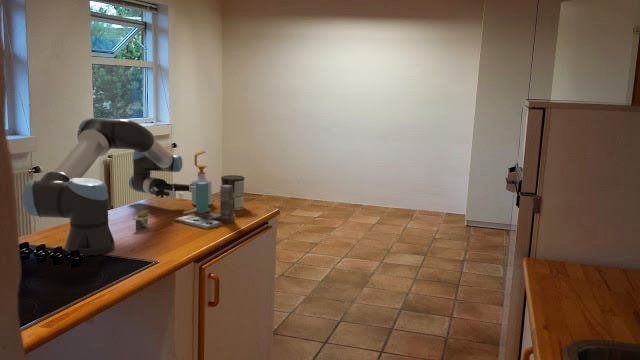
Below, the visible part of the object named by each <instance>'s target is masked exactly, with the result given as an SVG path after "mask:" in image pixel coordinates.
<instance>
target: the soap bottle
mask: <svg viewBox="0 0 640 360" xmlns="http://www.w3.org/2000/svg"><path fill="white" fill-rule="evenodd" d="M202 154H206V151H205V150H202V151H199V152H196V153H195V154H194V166H195V167H196V168H198V170H199V171H198V172H197V177H196V178H194V179H193V180H192V182H191V184H192V185H194V186H195V187H196V183H199V182H205V183H208V206H210V205H212V203H213V202H212V192H213V191H212V189H213V188H212V187H213V185H212V181H211V180H210V179H209V178H207V177H206V171H204V170H205V169H206V168H208V166H207V165H205V164H203V165H200V164H198V160H197V159H198V156H200V155H202ZM191 205H193V206H196V193H192V192H191Z"/></svg>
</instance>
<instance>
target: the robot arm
mask: <svg viewBox="0 0 640 360" xmlns="http://www.w3.org/2000/svg"><path fill="white" fill-rule="evenodd" d="M76 136H77V140H78V141H77V142H78V143H77V144H76V145H75V146H74V147H73V148H72V150H71V151H70V152H69V153H68V154H67V156H65V158H64V159H63V160H62V161H61V163H60V164H58V166H57V167H56V168H55V170H53V171H49V172H47V173H45V174H44V175H43V176H42V177H41V178H40V179H39V180H35V179H33V180H29V181H27V182H26V183H25V185H24V187H23V190H22V204H23V208H24V210H25V211H26V213H27V214H28V215H30V216H32V217H38V218H58V219H59V218H61V219H69V231H68V234H67V238H66V243H65V244H64V245H65V246H64V247H65V248H64V249H65V250H64V251H67V252H70V251H73V250H77V249H79V251H80V254H82V255H85V256H84V257H90V256H89V255H94V256H99V255H105V254H108V253H110V252H112V251H114V250H115V248H116V246H115V245H116V243H115V239H114V237H113V233H112V231H111V229H110V227H109V226H110V225H109V195H108V186H107V184H106V183H105V182H104V181H102V180H100V179H96V178H89V177H88V178H87V177H84V176H85V175H86V173H87V172H88V171H89V170H90V169H91V167H92V166H93V165H94V163H95V162H96V161H97V159H99V157H102V156H105V155H107V154H108V152H109V150H112V149H116V150H133V153H132V167H133V168H132V169H133V172H132V173H133V174H132V175H131V176H130V177H129V180H128V186H129V188H130V189H132V191H135V192H139V193H143V194H144V193H145V194H150V195H151V196H153V195H154V196H155V197H156V198H157V197H160V198H161V199H163V198H164V197H167V198H172V199H176V198H177V192H188V193H191V194H192V193H196V187H195V186H194V185H192V183H190V184H186V183H175V182H174V183H170V182H169V183H167V181H166V180H165V179H163V178H158V177H153V176H152V177H151V174H152V173H151V172H167V173H169V172H170V173H179V172H181V170H183V165H184V164H183V157H182V156H180V155H177V154H173V155H172V154H171V153H170V152H169V151H168V150H167V149H166V148H165V147H164V146H163V145H161V144H160V142H158V141H157V140H156V139H155V137H154V134H153V133H152V132H151V131H150V130H149V129H148V128H146V127H145V126H143V125H141V124H139V123H138V122H136V121H133V120H131V119H125V118H105V117H103V118H101V117H89V118H86V119H84V120H82V121H81V123H79V126H78V130H77V135H76Z"/></svg>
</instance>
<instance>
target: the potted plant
mask: <svg viewBox="0 0 640 360" xmlns="http://www.w3.org/2000/svg"><path fill="white" fill-rule="evenodd" d="M151 216H152V213H149V210H141V211H140V212H138V213H137V215H136V216H135V217H133V218H132V219H131V220H132V221H135V231H137V230H140V229H142V228H143V227H144V228H145V227H149V225H148V220H149V219H148V218H151Z"/></svg>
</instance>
